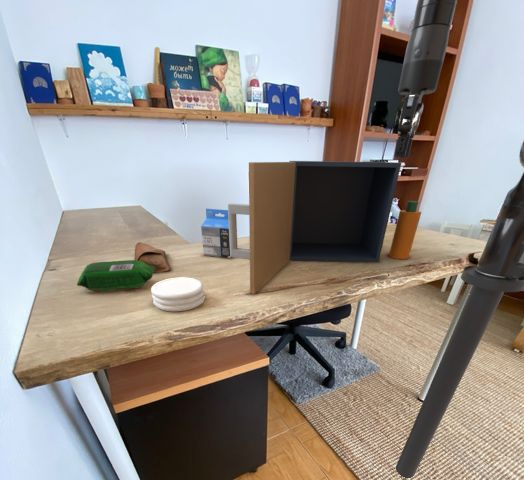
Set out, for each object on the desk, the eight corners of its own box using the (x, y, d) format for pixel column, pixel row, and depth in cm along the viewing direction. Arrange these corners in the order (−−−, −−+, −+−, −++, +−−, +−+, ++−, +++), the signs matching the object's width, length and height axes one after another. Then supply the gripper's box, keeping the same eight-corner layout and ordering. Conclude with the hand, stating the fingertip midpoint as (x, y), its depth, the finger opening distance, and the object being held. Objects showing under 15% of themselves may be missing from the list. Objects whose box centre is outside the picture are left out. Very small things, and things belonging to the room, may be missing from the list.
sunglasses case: (172, 269, 75) (153, 247, 70) (149, 285, 75) (130, 264, 71) (165, 251, 89) (149, 232, 84) (146, 265, 89) (130, 246, 85)
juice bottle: (412, 257, 88) (428, 202, 80) (401, 260, 86) (416, 203, 78) (396, 253, 92) (409, 199, 84) (385, 255, 90) (398, 201, 81)
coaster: (176, 317, 53) (173, 299, 51) (143, 303, 58) (139, 286, 56) (215, 300, 60) (213, 283, 58) (183, 288, 65) (180, 273, 63)
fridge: (378, 262, 84) (401, 162, 70) (287, 260, 84) (293, 161, 71) (362, 246, 99) (378, 162, 85) (284, 245, 99) (289, 160, 86)
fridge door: (227, 289, 64) (220, 161, 51) (268, 258, 85) (270, 161, 72) (254, 293, 63) (253, 162, 50) (289, 261, 83) (295, 161, 70)
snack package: (157, 289, 64) (152, 266, 62) (78, 295, 61) (70, 270, 58) (158, 279, 70) (154, 257, 67) (87, 283, 67) (80, 260, 64)
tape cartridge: (203, 255, 87) (198, 210, 80) (209, 252, 90) (205, 208, 83) (230, 258, 85) (228, 212, 78) (235, 255, 88) (234, 210, 81)
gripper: (443, 50, 53) (416, 157, 62) (443, 68, 64) (420, 157, 73) (399, 55, 56) (379, 156, 65) (406, 72, 67) (388, 157, 75)
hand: (401, 157), depth 69 cm, fingers open, 8 cm apart
